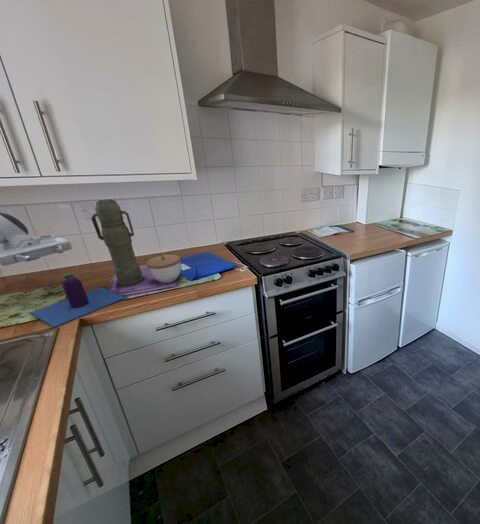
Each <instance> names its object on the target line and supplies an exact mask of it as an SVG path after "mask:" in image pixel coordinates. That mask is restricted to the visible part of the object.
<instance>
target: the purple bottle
mask: <svg viewBox="0 0 480 524" xmlns="http://www.w3.org/2000/svg"><path fill="white" fill-rule="evenodd" d="M63 277H64V279H63V280H62V284H61V286H62V289H63V291H64V294H65V295H66V296H65V297H66V299H68V301H69V303H70V306H71V307H72V308H80V307H83V306H85V305H87V304H88V303H89V300H88V298H87V295H86V290H85V288H84V285H83V282H82V281H81V279H79V278H78V277H76V276H74V275H73V273H72V272H68V273H64V274H63Z"/></svg>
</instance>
